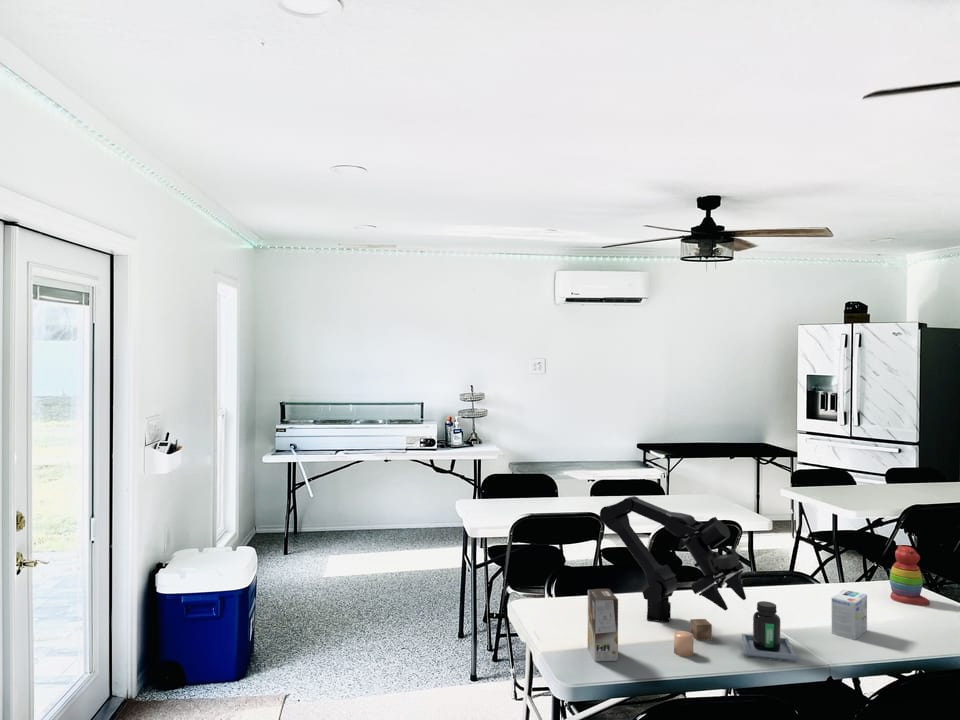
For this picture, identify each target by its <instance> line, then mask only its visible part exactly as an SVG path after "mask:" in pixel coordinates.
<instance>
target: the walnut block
mask: <svg viewBox="0 0 960 720" xmlns="http://www.w3.org/2000/svg"><path fill="white" fill-rule="evenodd" d="M689 624H690V630H689V632H690V633H692V634H693V636H694V640H695V641H712V635H713V634H712V631H713V630H712V628H713V626H712V623H710V622H709V620H708V619H706V618H694V619H693V618H690V623H689Z"/></svg>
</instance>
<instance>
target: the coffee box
mask: <svg viewBox="0 0 960 720" xmlns="http://www.w3.org/2000/svg"><path fill="white" fill-rule="evenodd" d="M587 649H588V651H589V654H590V655H591V656H592V658H593V660H594V661H595V662H616V661H618V660H619V599H618V598H617V596H616V595H615V594H614V593H613V592H612V590H611V589H610V588H595V589H593V588H592V589H587Z"/></svg>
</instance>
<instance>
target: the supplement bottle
mask: <svg viewBox="0 0 960 720" xmlns="http://www.w3.org/2000/svg"><path fill="white" fill-rule="evenodd" d="M756 603H757V604H756V610H757V611H755V612H754V613H753V617H752V635H753V646H754V648H755V649H757V650H760V651H769V652H779V651H780V637H781V617H780V616H779V615H778V614H777V604H775V603H774V602H771V601H766V600H765V601H762V600H761V601H757V602H756Z"/></svg>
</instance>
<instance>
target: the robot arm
mask: <svg viewBox="0 0 960 720" xmlns="http://www.w3.org/2000/svg"><path fill="white" fill-rule="evenodd" d="M631 513H635V514H638V515H639V516H641V517H642V516H643V517H644V518H647V519H649V520H651V521H654V522H655V523H658V524H661V525H662V526H663V527H664V528H665V529H666V531H668V532H669V533H671V534H672V535H674V536H676V537H678V538H680V540H679V544H678V549H679V550H681V549H685V548H686V549H687V550H688V552H689V554H690V555H691V557H692V558H693V560H694V561H695V563H694V567H695V568H698V567H699V569H700V571H701V572H702V573H703V576H702V577H700V578H699V579H697V580H695V581H694V582H693V583H691V586H690V587H691V590H692V592H693V593H694V595H697V594H698V596H701V597H704V598H705V599H706V600H709V601H710V602H712V603H714V604H715V605H716V606H718V607H719V608H720V609H722V610H724V611H725V612H726V611H727V610H729V607H728V605H727V603H726V602H725V600H724V598H723V597H722V595H721V593H720V592H719V586H718V585H719V584H718V581H719V580H721V579H724V583H725V584H726V585H727V586H728V587H729V588H730V589H731V590H732V591H733V592H734V593H735V594H736V595H737V596H738V598H740V599H741V600H742V601H745V600H747V595H746V593H745V589H744V586H743V583H742V579H741V578H742V573H744V570H743V569H744V568H745V567H744V566H743V565H744V564H742V562H741V561H739V559H740V555H739V554H738V552H737V551H736V550H735V549H734V548H732V549H728V550H726V551H725V552H726V553H725V554H722V555H720V553H719V552H717V551H714V552H713V550H712V549H711V547H712V548H716V546H718V545H720V544H721V543H723V542H724V541H725V540H726V541H727V539H729V538H730V537H731V532H730V529H729V527H728V526H727V525H726V524H724V523H723V522H722V521H721V520H719V519H718V518H717V516H714V517H711V518H710V519H709V520H707V522H705V523H703V522H700V521H699V520H697V519H695V517H694V516H692V515H691V514H688V513H682V512H678V511H677V512H675V511H669V510H667V509H664V508H661V507H660V506H657V505H655V504H652V503H650V502H647V501H645V500H643V499H640V498H639V497H638V496H635V495H633V496H629V497H626V498H624V499H623V500H621V501H619V502H617V503H614V504H610V505H607V506H606V505H605V506H603V507H602V508H601V509H600V510H599V519H600V521H601V523H603V524H604V525H605V527H606V528H608V529H609V530H610V531H612V532H614V533H615V534H617V536H618V537H619V538H620V539H621V541H622V542H623V544H624V546H625V547H626V548H627V549H628V551H629V552H630V553H631V555H632V556H633V557H634V559H635V560H636V561H637V563H638V564H639V566H640V567H641V568H642V570H643V571H644V576H645V580H646V583H647V586H648V587H646V588H645V589H644V590H643V591H642V596H643V599H644V600H646V603H647V604H646V605H647V607H646V608H647V613H646V620H647V621H654V622H662V623H669V622H670V619H671V616H672V615H671V614H672V613H671V610H672V609H671V608H672V607H671V605H672V603H671V602H670V600H669V599H670V598H671V597H672V596H673V593H674V592H675V591H676V590H677V589H678V580H677V578H676V576H677V574H675V573H674V572H673V571H672V570H671V568H670V566H669V564H665V565H661V564H660V563H658V561H657V560H656V559H655V557H654V556H653V554H651V551H650V550H649V549H648V548H647V547H646V545H645V544H644V543H643V541H642V540H641V538H640V537H639V536H638V534H637V533H636V532H635V531H634V529H633V527H631V524H630V518H629V514H631ZM697 533H698V534H697ZM695 534H697V535H695ZM686 536H688V537H687V538H685V537H686ZM683 537H684V538H683ZM715 582H716V583H715ZM669 597H670V598H669Z"/></svg>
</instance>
